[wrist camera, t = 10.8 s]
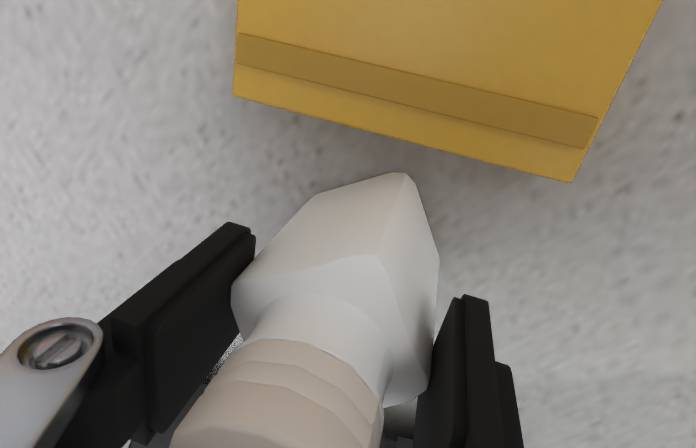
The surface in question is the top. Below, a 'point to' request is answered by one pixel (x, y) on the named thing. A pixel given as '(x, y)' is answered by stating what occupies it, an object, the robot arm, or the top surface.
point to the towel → (448, 70)
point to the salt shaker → (327, 326)
